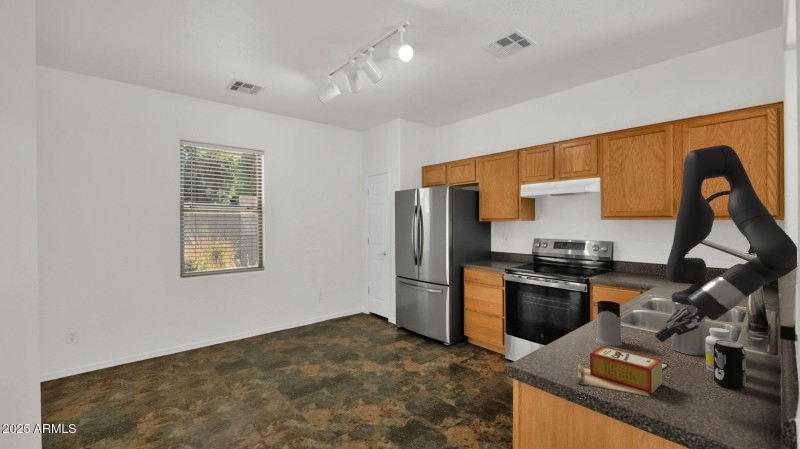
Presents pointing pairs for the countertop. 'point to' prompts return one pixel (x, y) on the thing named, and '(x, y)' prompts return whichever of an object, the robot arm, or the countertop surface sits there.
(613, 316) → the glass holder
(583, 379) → the wooden board
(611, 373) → the baking soda box
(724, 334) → the supplement bottle
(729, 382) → the beverage can
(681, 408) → the countertop surface
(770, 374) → the countertop surface
